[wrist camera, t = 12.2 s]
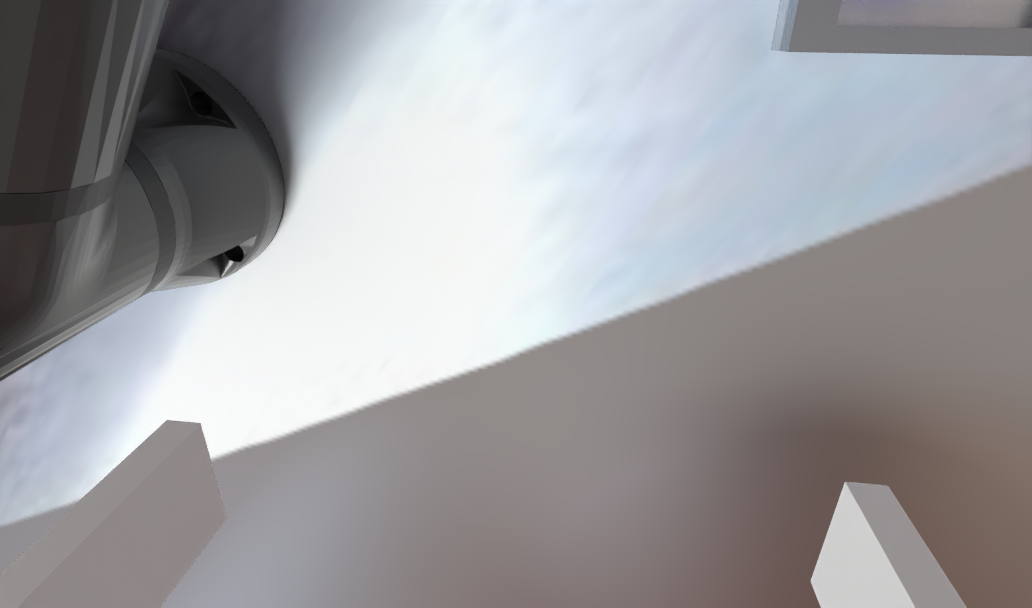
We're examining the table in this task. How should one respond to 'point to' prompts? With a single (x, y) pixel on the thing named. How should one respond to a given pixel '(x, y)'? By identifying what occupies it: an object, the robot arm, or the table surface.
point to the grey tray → (905, 27)
